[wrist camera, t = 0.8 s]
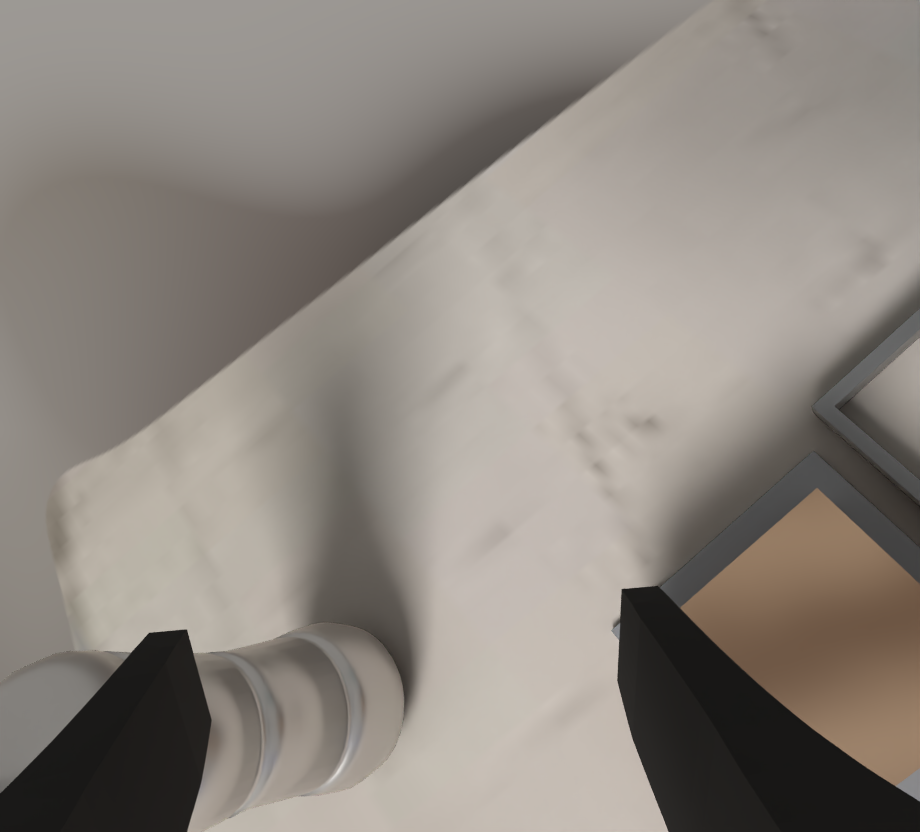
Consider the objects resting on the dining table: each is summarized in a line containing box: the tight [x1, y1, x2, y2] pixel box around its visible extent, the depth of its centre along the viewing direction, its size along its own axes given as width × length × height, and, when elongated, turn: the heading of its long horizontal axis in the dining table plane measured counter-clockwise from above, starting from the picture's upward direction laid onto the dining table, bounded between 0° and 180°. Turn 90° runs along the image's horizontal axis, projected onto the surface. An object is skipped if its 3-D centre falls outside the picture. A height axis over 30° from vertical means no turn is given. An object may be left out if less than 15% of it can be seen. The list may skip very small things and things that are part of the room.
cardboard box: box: [680, 488, 920, 786], centre depth 24 cm, size 7×8×4 cm
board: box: [611, 451, 920, 801], centre depth 24 cm, size 16×10×2 cm, turn 40°
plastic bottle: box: [0, 622, 404, 832], centre depth 25 cm, size 6×7×20 cm
